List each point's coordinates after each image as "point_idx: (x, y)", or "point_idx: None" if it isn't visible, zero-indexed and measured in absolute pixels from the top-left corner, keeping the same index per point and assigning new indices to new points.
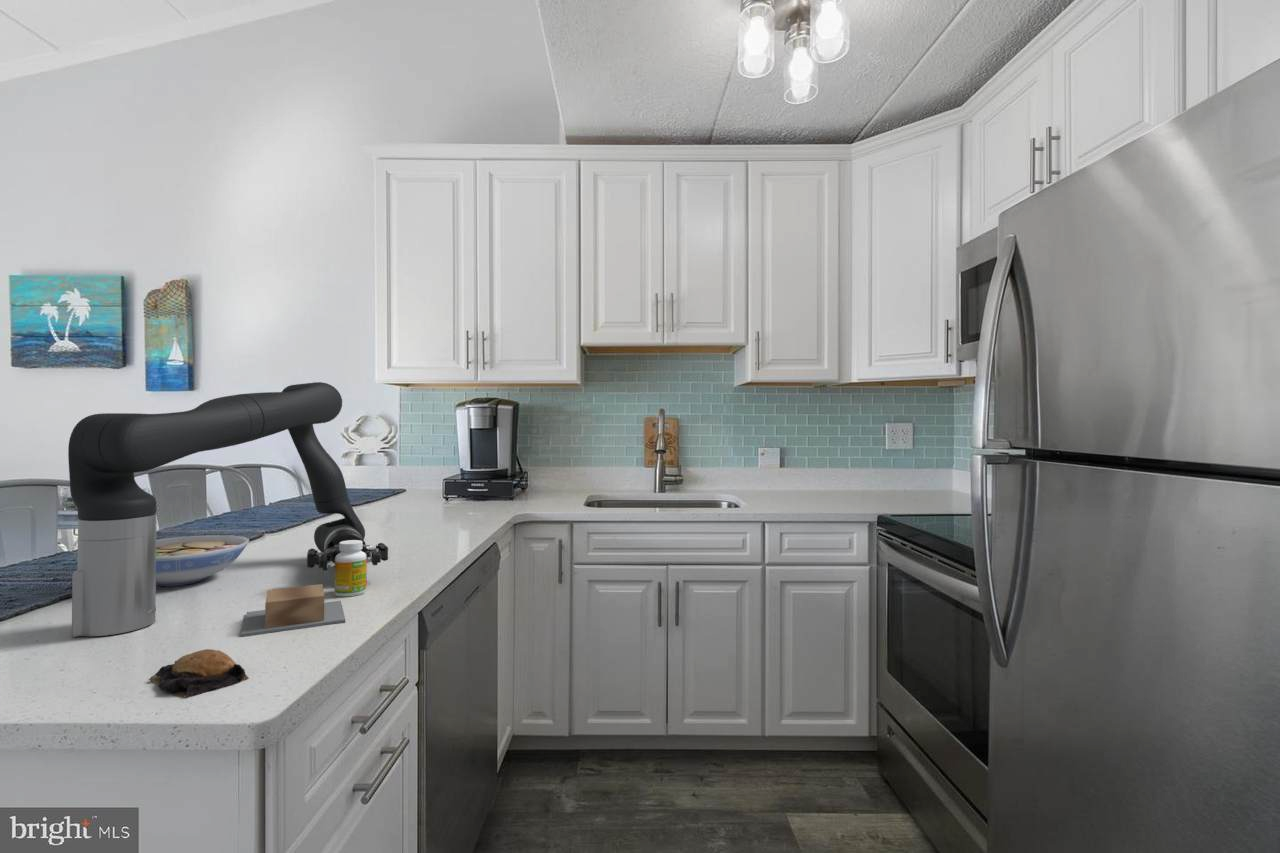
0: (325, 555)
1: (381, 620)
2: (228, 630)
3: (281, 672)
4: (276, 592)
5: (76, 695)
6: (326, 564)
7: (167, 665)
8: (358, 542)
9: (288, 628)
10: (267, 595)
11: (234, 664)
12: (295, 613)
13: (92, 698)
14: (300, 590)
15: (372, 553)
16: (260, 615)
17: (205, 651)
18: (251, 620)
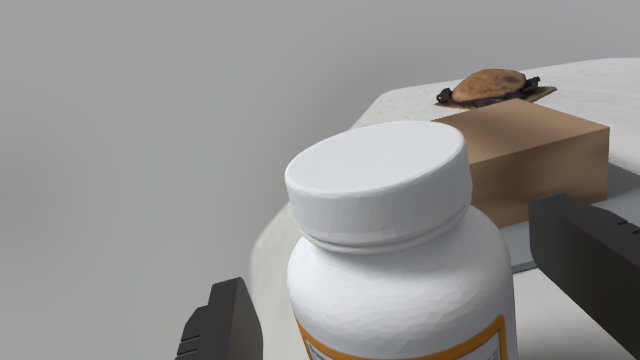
0: (627, 251)
1: None
2: (623, 155)
3: (405, 112)
4: (552, 122)
5: (603, 71)
6: (532, 226)
7: (536, 79)
8: (313, 148)
9: None
10: (558, 112)
11: (449, 88)
12: None
13: (574, 73)
14: (487, 136)
15: (235, 325)
16: (621, 193)
17: (487, 70)
18: (608, 173)
